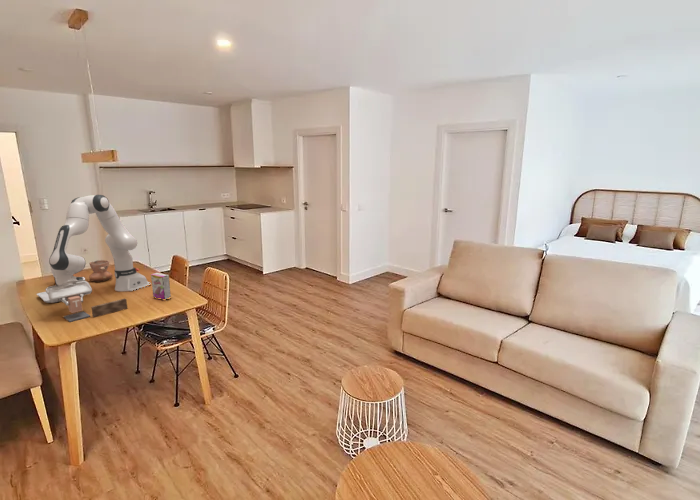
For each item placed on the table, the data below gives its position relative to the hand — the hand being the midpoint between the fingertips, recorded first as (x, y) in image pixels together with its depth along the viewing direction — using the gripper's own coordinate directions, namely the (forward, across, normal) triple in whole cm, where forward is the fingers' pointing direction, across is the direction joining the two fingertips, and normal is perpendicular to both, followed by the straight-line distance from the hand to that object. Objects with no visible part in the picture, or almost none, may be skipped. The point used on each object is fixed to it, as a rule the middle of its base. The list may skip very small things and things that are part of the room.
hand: (75, 303), depth 217 cm
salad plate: (-25, +5, +38) cm, 46 cm away
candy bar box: (+10, +46, +2) cm, 47 cm away
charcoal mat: (+6, 0, +6) cm, 9 cm away
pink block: (+3, 0, +4) cm, 5 cm away
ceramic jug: (-40, +36, +52) cm, 75 cm away
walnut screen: (+10, +15, +2) cm, 18 cm away
